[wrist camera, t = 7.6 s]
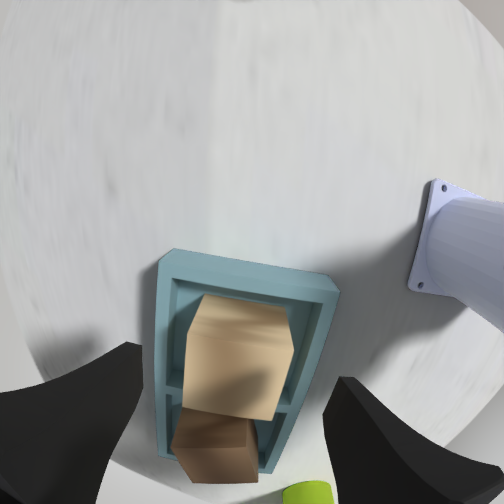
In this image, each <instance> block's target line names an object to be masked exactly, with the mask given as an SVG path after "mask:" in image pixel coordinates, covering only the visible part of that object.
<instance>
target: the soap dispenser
mask: <svg viewBox="0 0 504 504" xmlns="http://www.w3.org/2000/svg"><path fill="white" fill-rule="evenodd" d="M282 496H283V504H334V500H333V495H332V490H331V486H330V484H329V483H327V482H323V481H307V482H301V483H298V484H294V485H292V486H290V487H288V488H286V489H285V490H284V491H283V493H282Z"/></svg>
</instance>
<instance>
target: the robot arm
mask: <svg viewBox="0 0 504 504" xmlns="http://www.w3.org/2000/svg"><path fill="white" fill-rule="evenodd" d="M442 185H443V186H444V190H443V191H442V188H441V187H442ZM420 282H421V285H420V286H419V287H418V284H419V283H420ZM408 288H409V289H410V290H412V291H416V292H423V293H429V294H436V295H443V296H450V297H455V298H456V299H457V300H459V301H460V302H462V303H463V304H465V305H466V306H468V307H469V308H470V309H472V310H473V311H475V312H476V313H477V314H479V315H480V316H482V317H483V318H484V319H486V320H487V321H488V322H490V323H491V324H492V325H494V326H495V327H496V328H498V329H499V330H500V331H502V332H503V333H504V203H502V202H497V201H491V200H487V199H485V198H483V197H480V196H478V195H476V194H474V193H472V192H469V191H467V190H465V189H462V188H460V187H458V186H455V185H453V184H451V183H448V182H446V181H443V180H441V179H434V180H433V181H432V183H431V187H430V193H429V198H428V204H427V209H426V214H425V219H424V223H423V228H422V232H421V236H420V240H419V244H418V248H417V252H416V256H415V259H414V263H413V267H412V270H411V273H410V277H409V280H408ZM142 389H143V368H142V345H138V344H134V343H130V342H125V343H123V344H121V345H120V346H118V347H116V348H115V349H113V350H111V351H109V352H108V353H106V354H104V355H103V356H101V357H99V358H97V359H95V360H94V361H92V362H90V363H88V364H86V365H84V366H82V367H80V368H78V369H76V370H74V371H72V372H70V373H68V374H66V375H64V376H61V377H59V378H56V379H54V380H51V381H48V382H45V383H42V384H39V385H36V386H32V387H27V388H24V389H19V390H15V391H9V392H2V393H0V504H95V503H96V499H97V495H98V492H99V489H100V485H101V482H102V479H103V476H104V473H105V470H106V467H107V464H108V462H109V459H110V457H111V455H112V452H113V450H114V448H115V446H116V445H117V443H118V441H119V439H120V437H121V435H122V433H123V431H124V429H125V428H126V426H127V424H128V422H129V420H130V418H131V416H132V414H133V412H134V410H135V408H136V406H137V403H138V400H139V398H140V395H141V392H142ZM323 426H324V435H325V440H326V444H327V448H328V453H329V457H330V461H331V465H332V469H333V473H334V477H335V481H336V486H337V493H338V503H339V504H489V503H490V502H491V501H492V500H493V499H494V498H496V497H497V496H498V495H499V494H500V493H501V492H502V491H503V490H504V473H503V472H502V470H501V468H500V467H499V466H495V465H490V464H486V463H482V462H478V461H474V460H471V459H469V458H466V457H463V456H460V455H458V454H456V453H453V452H451V451H449V450H447V449H445V448H443V447H441V446H439V445H437V444H435V443H434V442H432V441H430V440H428V439H427V438H425V437H424V436H422V435H421V434H419V433H418V432H416V431H415V430H413V429H412V428H411V427H409V426H408V425H407V424H406V423H404V422H403V421H402V420H401V419H399V418H398V417H397V416H396V415H395V414H393V413H392V412H391V411H390V410H389V409H388V408H387V407H386V406H385V405H383V404H382V403H381V402H380V401H379V400H378V399H377V398H376V397H375V396H374V395H373V394H372V393H371V392H370V391H369V390H368V389H367V388H366V387H364V386H363V385H362V384H361V383H360V382H359V381H358V380H357V379H356V378H354V377H340V376H339V378H338V381H337V383H336V385H335V388H334V390H333V392H332V395H331V397H330V399H329V401H328V404H327V406H326V408H325V410H324V412H323Z"/></svg>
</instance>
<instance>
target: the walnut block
mask: <svg viewBox="0 0 504 504" xmlns="http://www.w3.org/2000/svg"><path fill="white" fill-rule="evenodd" d="M170 448H171V449H172V451H173V453H174V454H175V456H176V458H177V459H178V461H179V463H180V464H181V466H182V467H183V469H184V471H185V472H186V474H187V475H188V477H189V478H190V480H191V481H192V483H205V484H236V483H257V482H258V434H257V430H256V426H255V422H254V419H250V418H242V417H235V416H229V415H222V414H216V413H210V412H205V411H200V410H195V409H190V408H185V407H182V411H181V414H180V417H179V420H178V424H177V427H176V430H175V434H174V437H173V441H172V444H171V447H170Z"/></svg>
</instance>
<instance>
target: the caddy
mask: <svg viewBox="0 0 504 504" xmlns="http://www.w3.org/2000/svg"><path fill="white" fill-rule="evenodd" d="M205 293H206V294H211V295H217V296H222V297H228V298H233V299H239V300H245V301H251V302H257V303H263V304H269V305H276V306H282V307H285V310H286V314H287V319H288V324H289V328H290V333H291V338H292V343H293V347H294V353H293V356H292V360H291V363H290V366H289V369H288V373H287V376H286V379H285V382H284V385H283V389H282V392H281V395H280V398H279V401H278V404H277V407H276V410H275V413H274V416H273V419H272V421H268V420H259V419H254V422H255V426H256V430H257V434H258V473H267V474H272V472H273V470H274V468H275V466H276V464H277V462H278V460H279V458H280V455H281V453H282V451H283V449H284V447H285V444H286V442H287V440H288V438H289V435H290V433H291V431H292V428H293V426H294V424H295V421H296V419H297V417H298V414H299V412H300V409H301V407H302V404H303V402H304V399H305V397H306V394H307V391H308V389H309V386H310V383H311V381H312V378H313V375H314V373H315V370H316V367H317V364H318V361H319V359H320V356H321V353H322V350H323V347H324V344H325V341H326V338H327V335H328V332H329V328H330V325H331V322H332V319H333V316H334V312H335V309H336V306H337V302H338V299H339V295H340V291H339V289H338V288H337V287H336V285H335V284H334V283H333V281H332V280H331V278H330V277H329V276H328V275H325V274H319V273H313V272H307V271H301V270H295V269H289V268H283V267H277V266H271V265H266V264H260V263H254V262H248V261H242V260H237V259H231V258H225V257H220V256H214V255H208V254H203V253H197V252H192V251H186V250H180V249H175V248H173V249H172V250H171V251H170V252H169V253H168V254H166V255H165V256H164V257H163V258H162V259H161V260H159V266H158V279H157V294H156V314H155V352H154V377H155V413H156V431H157V446H158V456H160V457H164V458H168V459H173V460H177V461H178V459H177V458H176V456H175V454H174V453H173V451H172V449H171V448H170V447H171V444H172V441H173V437H174V434H175V430H176V427H177V424H178V420H179V417H180V414H181V411H182V402H183V385H184V369H185V356H186V343H187V333H188V331H189V328H190V326H191V324H192V321H193V319H194V317H195V315H196V312H197V310H198V308H199V306H200V303H201V301H202V299H203V297H204V294H205Z"/></svg>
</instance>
